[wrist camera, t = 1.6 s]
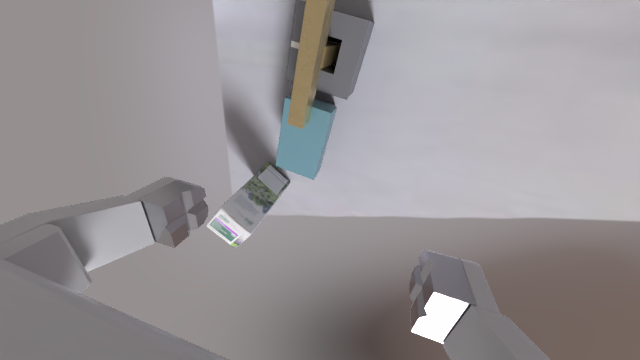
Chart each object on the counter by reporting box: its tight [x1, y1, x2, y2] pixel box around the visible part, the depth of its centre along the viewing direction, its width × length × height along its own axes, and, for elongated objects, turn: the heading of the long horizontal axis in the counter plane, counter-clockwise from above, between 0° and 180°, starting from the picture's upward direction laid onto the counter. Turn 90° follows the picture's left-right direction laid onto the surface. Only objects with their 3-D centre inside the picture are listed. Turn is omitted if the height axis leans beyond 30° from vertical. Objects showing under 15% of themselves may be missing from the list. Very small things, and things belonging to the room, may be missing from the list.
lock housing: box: [286, 0, 374, 106], centre depth 30 cm, size 18×8×5 cm, turn 167°
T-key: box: [287, 0, 341, 129], centre depth 25 cm, size 14×2×10 cm, turn 167°
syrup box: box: [206, 163, 290, 248], centre depth 38 cm, size 6×6×14 cm
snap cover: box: [276, 94, 337, 180], centre depth 31 cm, size 10×6×3 cm, turn 166°
